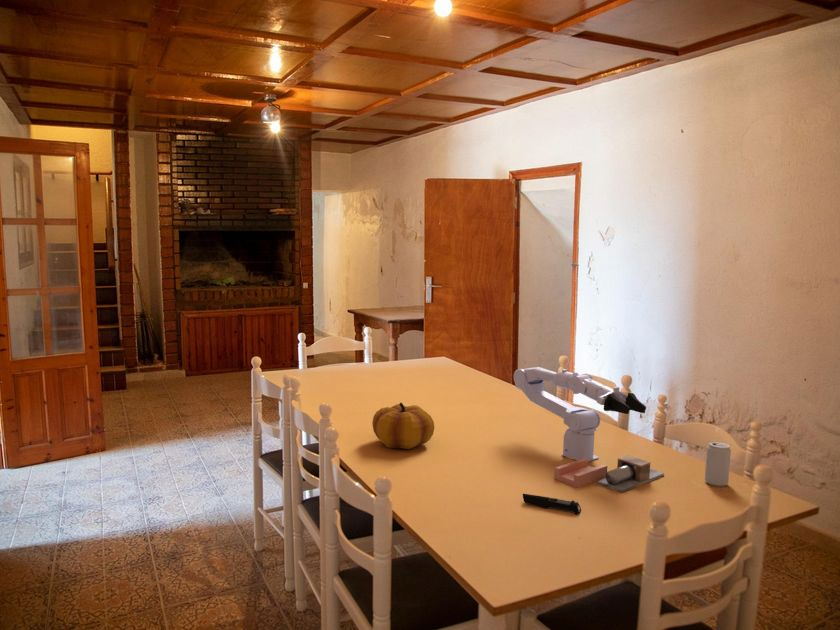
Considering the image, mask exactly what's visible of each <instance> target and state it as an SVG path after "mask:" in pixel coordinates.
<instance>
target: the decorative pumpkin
mask: <svg viewBox="0 0 840 630" xmlns="http://www.w3.org/2000/svg"><path fill="white" fill-rule="evenodd" d="M372 417H373V418H372V422H371V423H372V429H373V432H374V435H375V436H376V438H377V439H378V440H379V441H380V442H381V443H382V444H383V445H385V447H387V448H388V449H389V448H390V449H398V448H400V449H403V450H410V449H412V448H415V447H418V446H422V445H425V444H427V443H428V442H429V441H430V440H431V438H432V437H433V435H434V432H435V431H434V430H435V422H434V419H433V417H432V416H431V415H430V414H429V413H428V412H427V411H426V410H424V409H423V408H422V407H421V406H419V405H414V404H413V405H409V406H405V405H404V404H403V402H399V403H397V404H394V405H393V406H391V407H389V406H386V407H382V408H380V409H378V410H377V411H376V412H375V414H374V415H373V416H372Z"/></svg>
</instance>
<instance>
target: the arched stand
mask: <svg viewBox="0 0 840 630" xmlns="http://www.w3.org/2000/svg"><path fill="white" fill-rule="evenodd" d="M628 464H632V465H635V466H636V477H633V478H631V479H628V480H625V481H623V482H620V483H618V484H615V485H611V484H609V483H608V482H607V480H606V477H605V478H603V479H600V480H597V481H596V484H597V485H599V486H602V487H605V488H608V489H610V490H613V491H615V492H618V493H620V494H621V493H625V492H627V491H629V490H632V489H634V488H638V487H639V486H642V485H645V484H647V483H650V482H652V481H654V480H657V479H659V478H662V477H664V476H665V473H664V472H661V471H658V470H655V469H652V468H651V461H648V460H644V459H641V458H638V457H635V456H631V455H628V454H627V455H624V456H623V455H622V457H618V458H617V466H616V467H617V468H619V467H622V466H625V465H628ZM617 468H616V469H617Z"/></svg>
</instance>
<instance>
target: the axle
mask: <svg viewBox="0 0 840 630" xmlns="http://www.w3.org/2000/svg"><path fill="white" fill-rule="evenodd" d="M633 477H636V466H635V465H632V464H628V465H625V466H622V467H619V468H614V469H611V470H609V471H608V470H607V473H606V477H605V478H606V480H607V482H608V483H609V484H611V485H615V484H618V483H620V482H623V481H625V480H628V479H631V478H633Z"/></svg>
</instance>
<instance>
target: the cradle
mask: <svg viewBox="0 0 840 630" xmlns="http://www.w3.org/2000/svg"><path fill="white" fill-rule="evenodd" d="M607 472H608V465H607V464H600V465H598V466H594V467H593V466H590V465H589V462H588V459H586V458H582V459H579V460H573V461H571V462H567V463H564V464H561V465H558V466H555V467H554V477H553V479H554V480H557V481H559V482H562V483H564V484H567V485H570V486H572V487H575V488H581V487H584V486H586V485H589V484H591V483H594V482H597V481H599V480H601V479H604V478H606V473H607Z"/></svg>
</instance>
